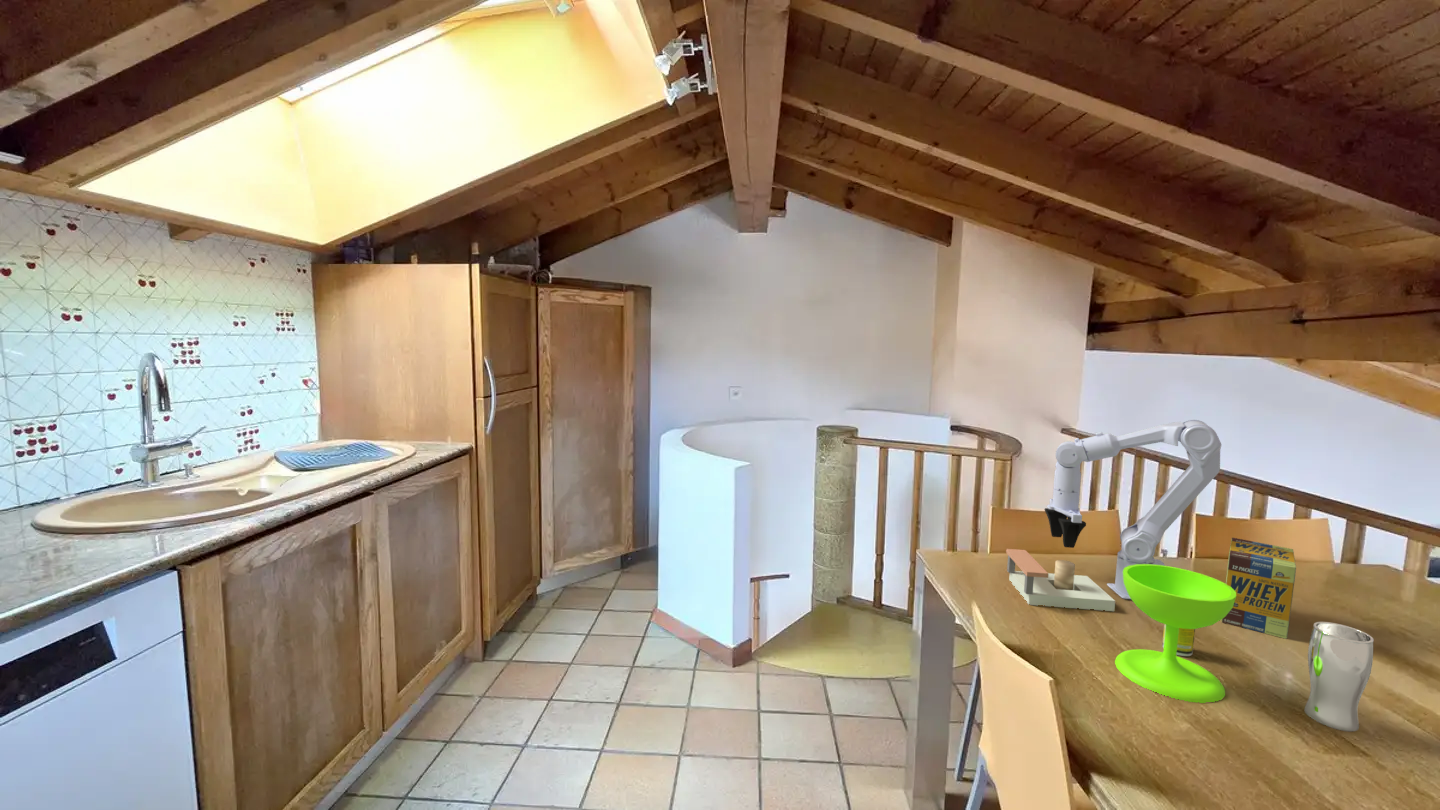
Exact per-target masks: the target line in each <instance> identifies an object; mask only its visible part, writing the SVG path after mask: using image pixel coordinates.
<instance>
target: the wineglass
mask: <svg viewBox="0 0 1440 810" xmlns="http://www.w3.org/2000/svg"><path fill="white" fill-rule="evenodd" d="M1123 581H1124V585H1125V587H1126V590H1127V592H1128V594H1129V596H1130V598H1131V599H1130V600H1131V601H1132V602H1133V604H1135V606H1136V607H1137V608H1138V609H1139V610H1140V611H1142V613H1144V614H1146V616H1148V617H1149V618H1151V619H1152V620H1154V621H1156V622H1158V623H1161V624H1163V625H1164V624H1166V629H1165V639H1164V648H1163V651H1158V650H1153V649H1144V648H1141V649H1134V648H1133V649H1128V650H1123V651H1122V652H1120V653H1119V654H1118V655H1116V656H1115V657H1116V658H1115V660H1114V664H1115V667H1116V669H1117V670H1118V671H1119V672H1120V673H1121V674H1122V675H1123V676H1124V677H1126V678H1127V679H1128V680H1130V681H1131V682H1132V683H1135V684H1136V685H1138V686H1139V687H1142V688H1144V689H1146V688H1147V689H1146V690H1148V689H1149V690H1148V691H1150V690H1152V691H1151V692H1153V691H1154V692H1153V693H1155V692H1157V693H1159V694H1158V695H1161V694H1162V695H1161V696H1164V695H1165V697H1167V696H1169V697H1168V698H1170V697H1171V699H1173V698H1175V699H1174V700H1178V699H1179V701H1182V700H1184V701H1183V702H1187V701H1188V703H1197V704H1199V703H1200V704H1207V703H1206V702H1213V703H1216V702H1220V701H1221V700H1223V698H1225V697H1226V689H1225V687H1224V685H1223V684H1222V683H1221V681H1220V680H1219V678H1217V677H1216V676H1215V674H1213V673H1212V672H1211V671H1209V670H1207V669H1206V668H1205V667H1203V666H1201V665H1199V664H1197V663H1195V662H1192V661H1191V660H1188V659H1185V658H1183V657H1182V656H1179V655H1176V654H1177V644H1178V634H1179V628H1183V629H1195V630H1196V629H1197V630H1198V629H1202V628H1205V627H1206V628H1207V627H1210V626H1213V625H1215V624H1217V623H1218V622H1220V621H1222V619H1223V618H1224V617H1225V616H1226V615H1227V614H1228V613H1229V611H1230V610H1231V609H1232V608H1233V605H1234V602H1235V599H1236V592H1235V591H1234V590H1233V588H1232V587H1230V586H1228V585H1227V584H1226V582H1223V581H1222V580H1219V579H1216V578H1214V577H1212V576H1211V577H1210V576H1209V575H1206V574H1203V573H1200V572H1197V571H1196V572H1195V571H1193V570H1188V569H1185V568H1180V567H1174V566H1168V565H1165V566H1163V565H1153V564H1136V565H1130V566H1127V567H1125V568H1124V570H1123ZM1157 693H1156V694H1157ZM1219 700H1220V701H1219ZM1215 701H1216V702H1215ZM1198 702H1199V703H1198Z"/></svg>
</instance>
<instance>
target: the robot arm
mask: <svg viewBox="0 0 1440 810" xmlns="http://www.w3.org/2000/svg"><path fill="white" fill-rule="evenodd" d="M1179 442H1180V444H1181V446H1182V447H1184V449H1185V451H1186V454H1187V458H1188V461H1189V466H1188V467H1187V468H1186V469H1185V470H1184V471H1183V472H1182V473H1181V475H1180V476H1179V477H1177V479H1176V480H1175V482H1173V484H1171V486H1170V487H1169V488H1168V489H1167V490H1166V492H1165V493H1164V494H1162V496H1161V497H1160V498H1159V500H1157V501H1156V503H1154V505H1153V506H1152V507H1151V508H1150V510H1149V511H1148V512H1147V513H1146V514H1145V515H1144V516H1143V517H1140V518H1139V519H1138V520H1137V521H1136V522H1135V523H1134V524H1133V525H1131V526H1127V527H1126V528H1124V529H1123V530H1122V531H1121V532H1120V541H1121V549H1120V550H1119V551H1118V552H1117V556H1116V557H1117V558H1116V559H1117V560H1116V570H1115V578H1114V579H1115V580H1114V581H1115V582H1114V583H1110V582H1108V583H1106V586H1108V587H1109V588H1110V590H1112V591H1113V592H1114V593H1115V594H1117V595H1118V596H1119V597H1120V598H1122V599H1123V600H1132V599H1131V598H1130V596H1129V594H1128V592H1127V590H1126V587H1125V585H1124V581H1123V570H1124V568H1125V567H1127V566H1130V565H1136V564H1153V565H1163V566H1166V564H1165V563H1164V561H1162V560H1161V559H1158V558H1155V557H1154V555H1155V553H1156V548H1157V546H1158V545H1159V543H1160V542H1161V541H1162V538H1163V536H1164V535H1165V534H1164V533H1165V532H1166V531H1167V530H1168V529H1169V528H1170V526H1171V525H1172V524H1173V523H1174V522H1176V520H1177V519H1178V518H1179V517H1180V516H1181V515H1182V513H1183V512H1184V511H1185V510H1186V509H1187V508H1188V507H1189V506H1190V504H1191V503H1192V502H1194V500H1195V499H1196V498H1197V497H1198V496H1199V495H1200V494H1201V493H1202V492H1203V491H1204V489H1206V487H1207V486H1208V485H1209V484H1210V483H1211V482H1212V481H1213V479H1215V477H1216V476H1217V475H1219V472H1220V471H1221V448H1222V442H1221V440H1220V439H1219V436H1218V433H1217V432H1216V430H1215V429H1213V427H1211V426H1210V425H1208V424H1207V423H1206V422H1204V421H1202V420H1199V419H1188V420H1184V421H1183V422H1181V421H1175V422H1169V423H1163V424H1160V425H1156V426H1151V427H1148V428H1145V429H1141V430H1135V431H1133V432H1129V433H1125V434H1121V435H1117V436H1116V435H1114V434H1111V433H1109V432H1107V433H1103V432H1102V431H1099V432H1096V433H1095V435H1094V436H1089V437H1085V438H1081V439H1080V438H1079V437H1077V438H1074V441H1072V440H1069V441H1063V442H1061V443H1060V444H1059V445H1058V446H1057V448H1056V450H1055V459H1056V462H1055V470H1054V477H1053V478H1054V479H1053V490H1052V498H1049V504H1047V505H1046V508H1044V512H1045V514H1046V518H1047V520H1048V523H1049V524H1048V525H1049V528H1050V533H1051V534H1050V535H1051V537H1053V538H1062V542H1063V546H1064V548H1070V549H1071V548H1072V549H1073V548H1075V546H1076V543H1077V541H1078V539H1079V536H1080V534H1081V533H1082V531H1083V530H1084V528H1085V527H1086V526H1087V522H1086V521H1084V520H1083V515H1082V514H1081V510H1080V507H1079V505H1080V495H1081V479H1082V472H1081V464H1082V463H1083V462H1086V463H1089V462H1095V461H1099V460H1104V459H1108V458H1112V457H1117V456H1118V455H1119V453H1120V452H1121V450H1125V449H1131V448H1135V447H1141V446H1146V445H1151V444H1152V445H1153V444H1157V443H1164V444H1168V445H1172V446H1175V447H1178V446H1179Z"/></svg>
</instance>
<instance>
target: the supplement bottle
mask: <svg viewBox="0 0 1440 810" xmlns="http://www.w3.org/2000/svg"><path fill="white" fill-rule="evenodd" d="M1165 629H1166V624H1163V632H1162V633H1163V634H1162V642H1161V643H1162V645H1161V647H1162V648H1163V649H1164V639H1165ZM1195 632H1196V629H1183V628H1179V634H1178V644H1177V654H1176V656H1178V657H1190V656H1192V655H1193V652H1194V645H1195V643H1194V642H1195Z"/></svg>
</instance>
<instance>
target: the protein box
mask: <svg viewBox="0 0 1440 810" xmlns="http://www.w3.org/2000/svg"><path fill="white" fill-rule="evenodd" d="M1229 545H1230V546H1229V552H1228V558H1227V559H1228V560H1227V569H1226V577H1225V584H1227V585H1228V586H1230V587H1232V588H1233V590H1234V591H1235V592H1236V599H1235V602H1234V605H1233V608H1232V609H1231V610H1230V611H1229V613H1228V614H1227V615H1226V616H1225V617H1224V618H1223V619H1222V620H1221V623H1224V624H1227V625H1231V626H1235V627H1239V628H1243V629H1246V630H1251V631H1254V632H1259V633H1263V634H1266V635H1269V636H1274V637H1278V638H1280V639H1287V638H1288V632H1289V625H1290V619H1291V610H1292V604H1293V603H1292V602H1293V596H1294V590H1295V589H1294V588H1295V582H1296V581H1295V580H1296V572H1297V565H1296V559H1295V551H1294V549H1293V548H1289V547H1284V546H1277V545H1274V544H1269V543H1263V542H1258V541H1252V540H1247V539H1242V538H1237V537H1231V540H1230V544H1229Z"/></svg>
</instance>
